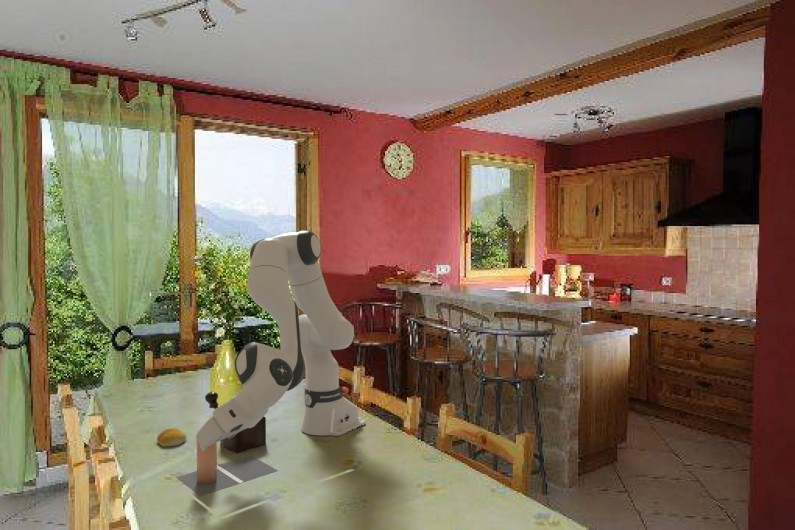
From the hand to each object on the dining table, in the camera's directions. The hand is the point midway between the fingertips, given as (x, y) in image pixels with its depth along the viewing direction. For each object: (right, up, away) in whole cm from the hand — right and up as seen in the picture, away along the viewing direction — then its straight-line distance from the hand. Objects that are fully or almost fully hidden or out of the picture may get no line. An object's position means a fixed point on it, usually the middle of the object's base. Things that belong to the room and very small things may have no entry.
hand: (216, 441), depth 141 cm
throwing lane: (+1, -11, +6) cm, 13 cm away
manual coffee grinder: (-3, -11, +26) cm, 28 cm away
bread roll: (-25, -10, +31) cm, 41 cm away
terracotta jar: (-3, -11, +2) cm, 11 cm away
